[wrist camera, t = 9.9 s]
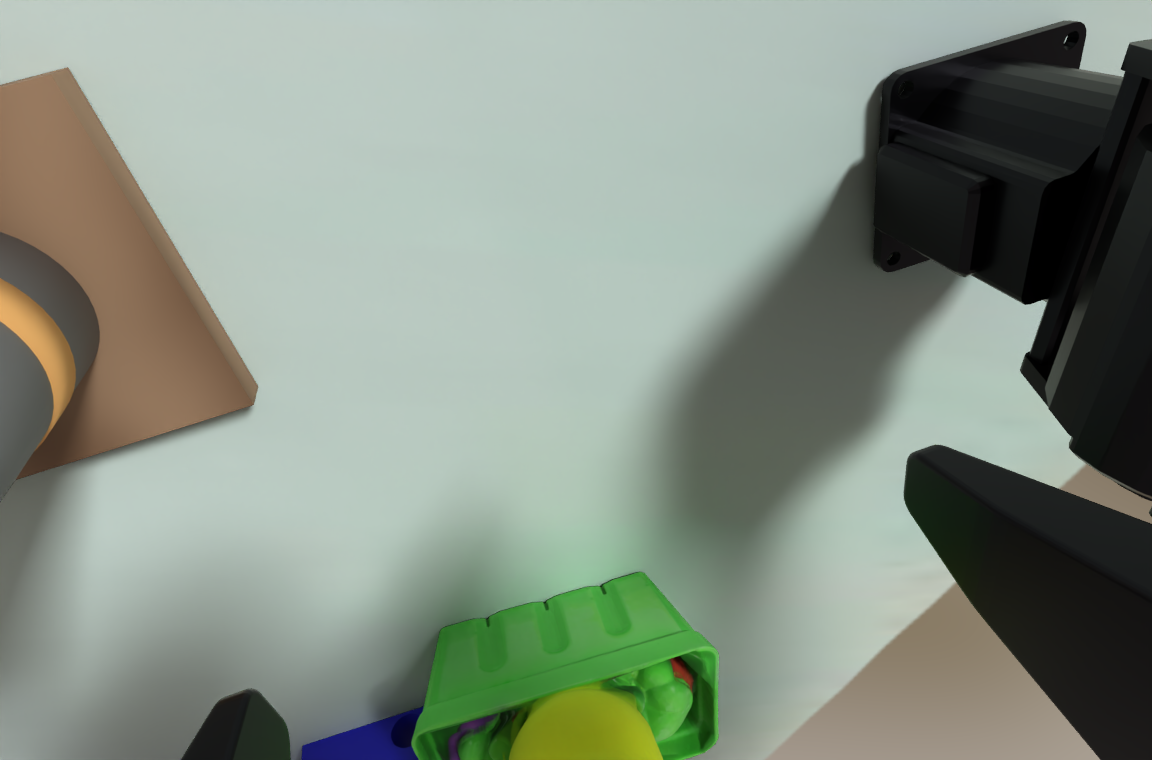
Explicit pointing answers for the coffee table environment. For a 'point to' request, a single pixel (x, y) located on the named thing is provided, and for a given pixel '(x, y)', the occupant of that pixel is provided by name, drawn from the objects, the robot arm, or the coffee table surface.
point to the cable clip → (369, 741)
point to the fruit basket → (573, 681)
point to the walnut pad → (111, 278)
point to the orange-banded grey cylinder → (38, 349)
